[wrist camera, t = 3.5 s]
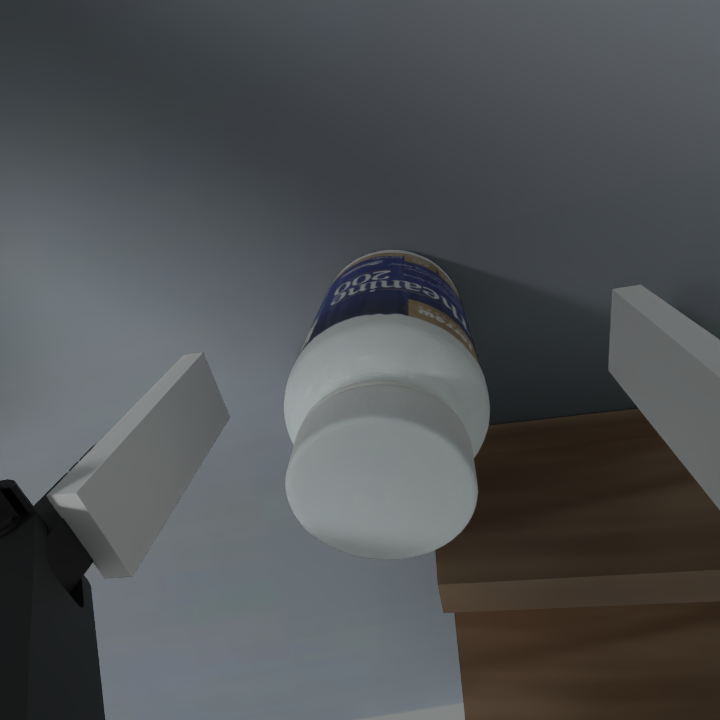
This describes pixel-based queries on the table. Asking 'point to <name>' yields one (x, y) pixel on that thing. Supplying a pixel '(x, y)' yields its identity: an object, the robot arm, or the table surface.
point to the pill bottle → (386, 411)
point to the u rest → (585, 576)
